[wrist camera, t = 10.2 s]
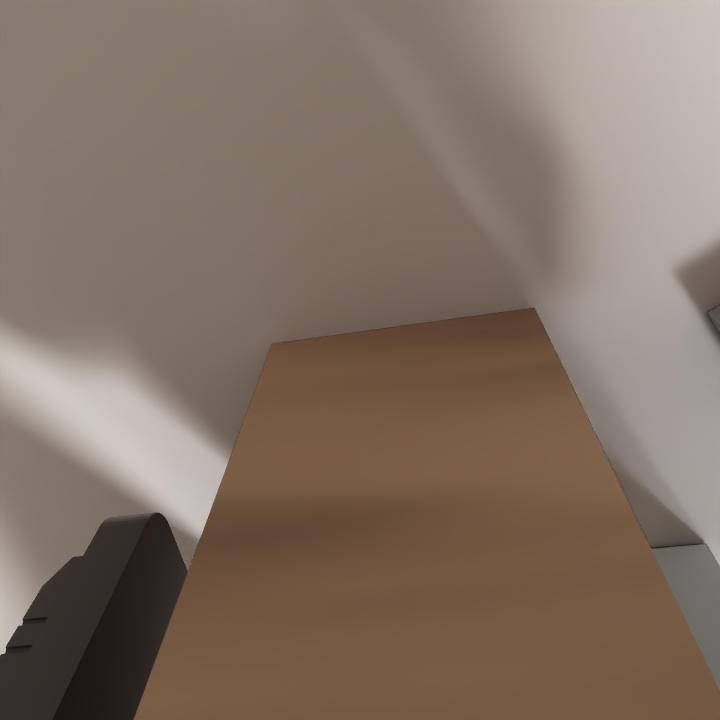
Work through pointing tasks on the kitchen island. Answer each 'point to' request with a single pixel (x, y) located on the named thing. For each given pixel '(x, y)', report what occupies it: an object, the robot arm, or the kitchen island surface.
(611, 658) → the walnut block
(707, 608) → the shelf bay
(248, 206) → the kitchen island surface
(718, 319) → the slate pad
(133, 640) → the robot arm
